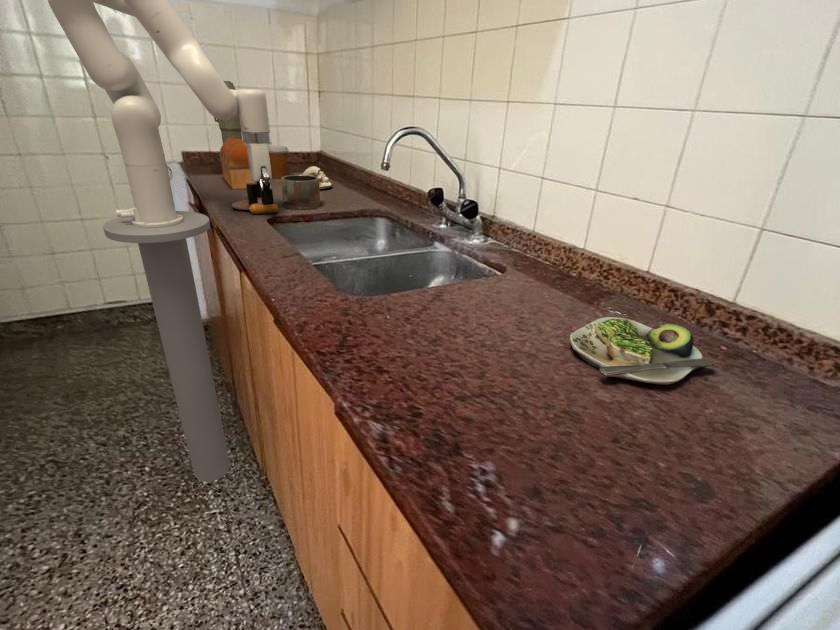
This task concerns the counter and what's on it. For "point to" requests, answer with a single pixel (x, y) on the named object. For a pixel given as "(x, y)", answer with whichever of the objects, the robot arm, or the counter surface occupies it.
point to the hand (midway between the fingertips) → (265, 200)
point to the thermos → (230, 123)
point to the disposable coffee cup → (278, 160)
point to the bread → (235, 163)
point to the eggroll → (263, 208)
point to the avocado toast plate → (638, 350)
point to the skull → (317, 173)
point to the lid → (251, 198)
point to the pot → (300, 191)
